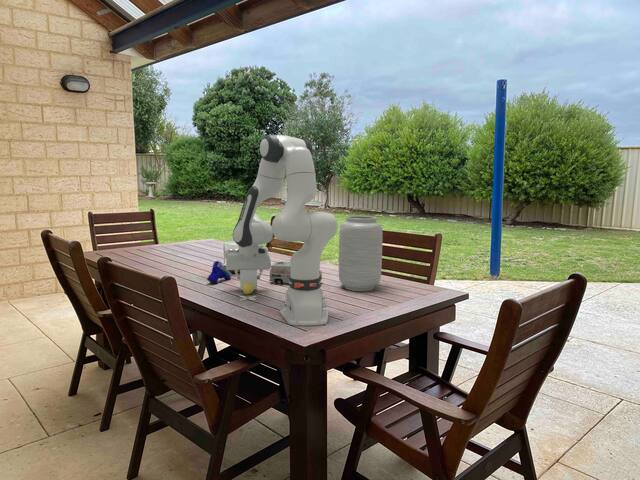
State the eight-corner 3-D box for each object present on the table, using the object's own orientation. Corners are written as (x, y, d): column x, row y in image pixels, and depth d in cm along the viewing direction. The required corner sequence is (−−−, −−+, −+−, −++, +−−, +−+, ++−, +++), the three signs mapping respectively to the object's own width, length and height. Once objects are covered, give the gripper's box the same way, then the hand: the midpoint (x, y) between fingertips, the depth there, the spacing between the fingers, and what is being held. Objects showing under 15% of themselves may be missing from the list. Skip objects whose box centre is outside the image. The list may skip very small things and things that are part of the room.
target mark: (262, 298, 199) (262, 297, 199) (247, 302, 192) (247, 302, 192) (248, 294, 204) (248, 294, 204) (232, 298, 197) (232, 298, 197)
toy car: (318, 287, 219) (318, 267, 218) (268, 284, 224) (268, 264, 222) (322, 282, 229) (323, 263, 228) (274, 279, 234) (274, 260, 233)
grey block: (257, 289, 208) (256, 270, 207) (240, 289, 207) (240, 270, 206) (257, 285, 215) (257, 266, 214) (241, 285, 214) (240, 267, 213)
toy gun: (205, 278, 221) (214, 260, 225) (220, 290, 231) (228, 272, 236) (212, 279, 219) (220, 261, 223) (227, 291, 229) (234, 273, 234)
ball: (253, 289, 208) (253, 296, 204) (242, 289, 208) (242, 296, 203) (253, 280, 206) (253, 287, 201) (242, 280, 205) (241, 287, 201)
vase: (346, 294, 207) (347, 219, 203) (332, 283, 227) (334, 215, 222) (387, 291, 213) (390, 219, 208) (371, 281, 232) (373, 215, 227)
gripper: (224, 250, 204) (225, 281, 206) (271, 250, 207) (271, 280, 209) (225, 248, 210) (226, 278, 212) (270, 247, 213) (270, 277, 215)
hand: (248, 279), depth 210 cm, fingers closed on grey block, 7 cm apart
